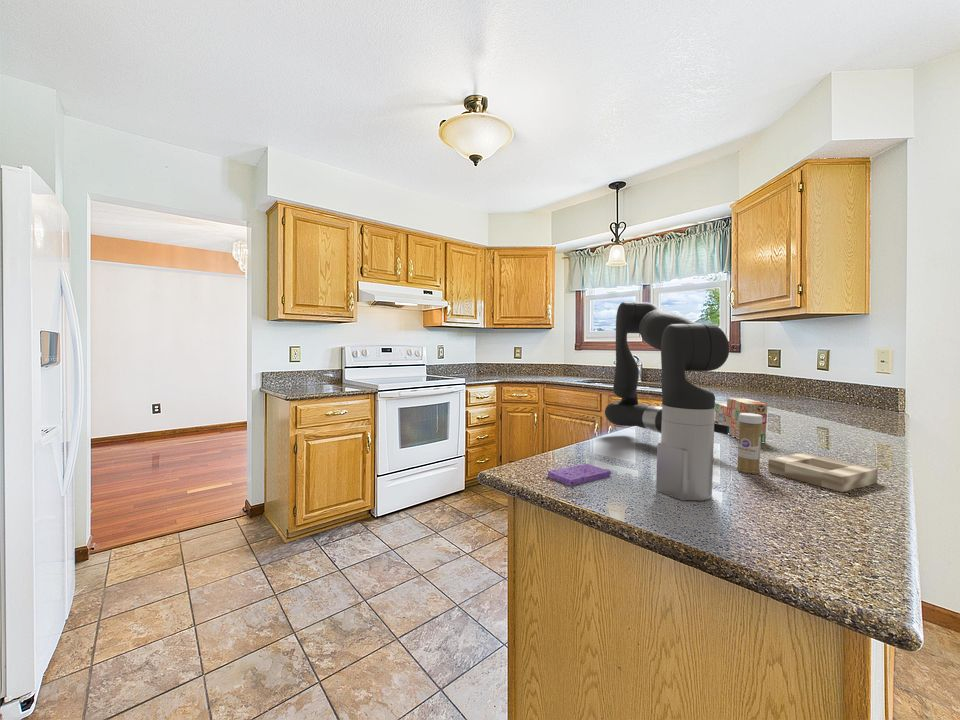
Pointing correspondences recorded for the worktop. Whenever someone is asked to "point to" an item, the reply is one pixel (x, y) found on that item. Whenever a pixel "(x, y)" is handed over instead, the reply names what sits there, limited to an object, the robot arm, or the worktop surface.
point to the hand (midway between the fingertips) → (716, 431)
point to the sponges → (578, 474)
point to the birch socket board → (823, 471)
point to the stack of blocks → (734, 407)
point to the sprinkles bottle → (749, 442)
